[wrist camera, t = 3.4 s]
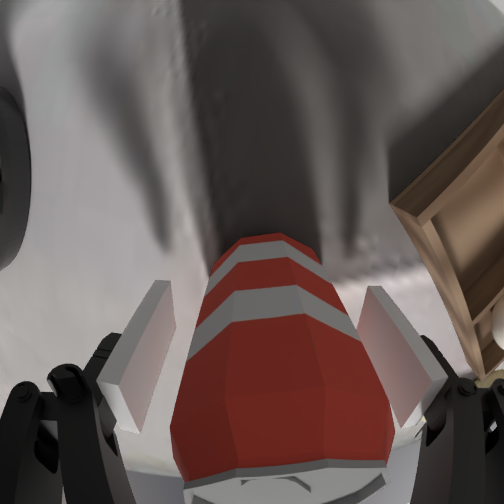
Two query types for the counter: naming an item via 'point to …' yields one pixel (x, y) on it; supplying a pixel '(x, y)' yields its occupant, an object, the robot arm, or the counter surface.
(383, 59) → the counter surface
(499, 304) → the egg
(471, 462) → the robot arm
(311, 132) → the counter surface
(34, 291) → the counter surface
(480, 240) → the crate
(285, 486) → the beverage can
